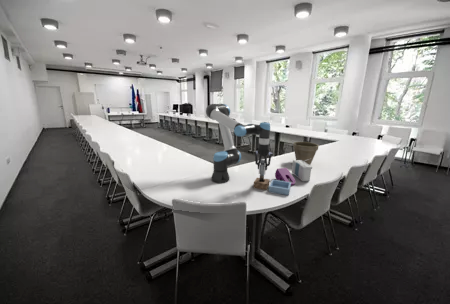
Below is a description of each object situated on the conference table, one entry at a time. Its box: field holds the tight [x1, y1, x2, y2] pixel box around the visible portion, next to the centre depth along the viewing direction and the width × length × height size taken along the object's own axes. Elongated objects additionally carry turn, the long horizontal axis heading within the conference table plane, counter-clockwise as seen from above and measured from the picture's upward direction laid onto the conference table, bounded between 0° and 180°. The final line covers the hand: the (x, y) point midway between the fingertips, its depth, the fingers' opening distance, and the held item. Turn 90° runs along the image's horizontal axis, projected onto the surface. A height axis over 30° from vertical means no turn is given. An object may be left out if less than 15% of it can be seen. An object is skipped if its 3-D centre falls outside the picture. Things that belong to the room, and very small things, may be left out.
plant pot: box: [292, 141, 320, 166], centre depth 212 cm, size 25×25×22 cm
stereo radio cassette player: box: [291, 159, 313, 182], centre depth 172 cm, size 21×8×20 cm, turn 5°
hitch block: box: [253, 177, 270, 191], centre depth 153 cm, size 10×10×5 cm
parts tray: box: [268, 179, 291, 196], centre depth 148 cm, size 14×14×4 cm
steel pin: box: [259, 159, 265, 182], centre depth 151 cm, size 5×5×18 cm
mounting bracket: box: [274, 167, 296, 186], centre depth 165 cm, size 10×8×18 cm
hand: (262, 173), depth 151 cm, fingers closed on steel pin, 3 cm apart
